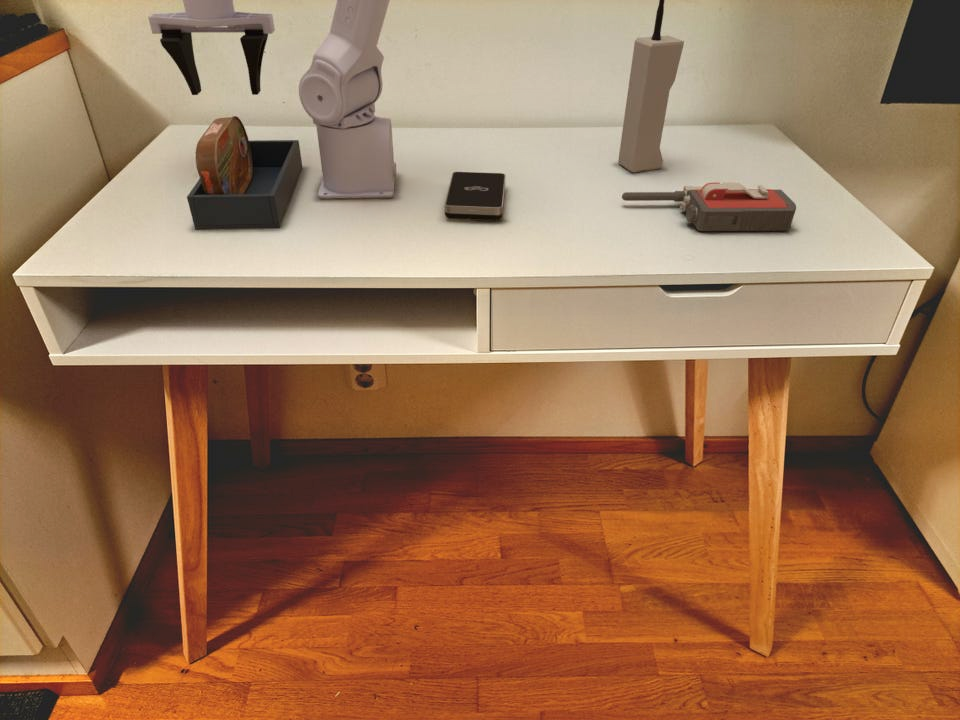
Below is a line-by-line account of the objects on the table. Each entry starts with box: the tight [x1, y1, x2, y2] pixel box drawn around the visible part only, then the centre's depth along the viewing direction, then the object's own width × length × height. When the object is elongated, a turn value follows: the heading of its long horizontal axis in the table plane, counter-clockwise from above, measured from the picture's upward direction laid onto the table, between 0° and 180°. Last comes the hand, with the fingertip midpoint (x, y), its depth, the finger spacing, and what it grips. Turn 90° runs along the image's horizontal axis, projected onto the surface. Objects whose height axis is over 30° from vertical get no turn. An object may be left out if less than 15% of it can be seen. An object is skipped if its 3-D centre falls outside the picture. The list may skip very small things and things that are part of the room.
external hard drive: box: [444, 171, 506, 221], centre depth 85 cm, size 7×11×2 cm, turn 176°
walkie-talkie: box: [621, 182, 797, 232], centre depth 82 cm, size 9×4×20 cm
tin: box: [195, 115, 253, 195], centre depth 84 cm, size 15×3×8 cm, turn 4°
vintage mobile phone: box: [617, 0, 685, 174], centre depth 89 cm, size 4×5×25 cm
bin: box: [186, 139, 304, 230], centre depth 85 cm, size 10×19×4 cm, turn 4°
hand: (226, 92), depth 89 cm, fingers open, 7 cm apart
